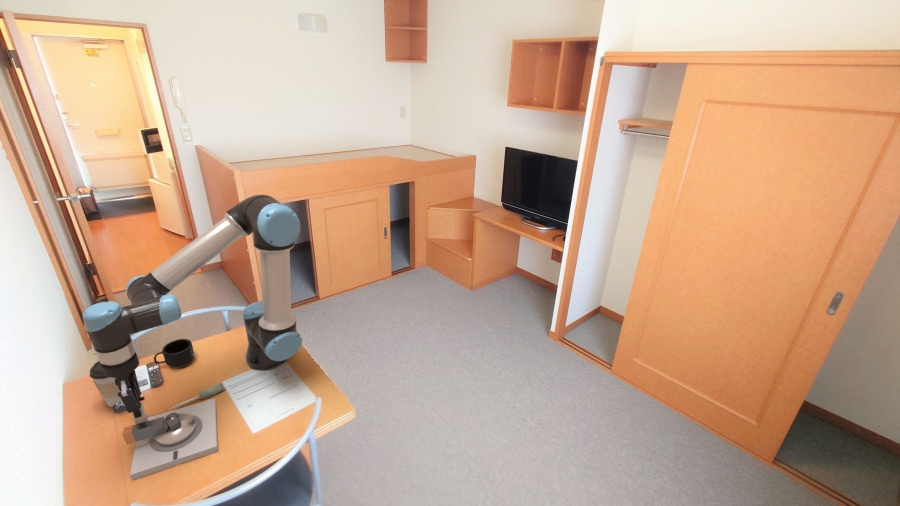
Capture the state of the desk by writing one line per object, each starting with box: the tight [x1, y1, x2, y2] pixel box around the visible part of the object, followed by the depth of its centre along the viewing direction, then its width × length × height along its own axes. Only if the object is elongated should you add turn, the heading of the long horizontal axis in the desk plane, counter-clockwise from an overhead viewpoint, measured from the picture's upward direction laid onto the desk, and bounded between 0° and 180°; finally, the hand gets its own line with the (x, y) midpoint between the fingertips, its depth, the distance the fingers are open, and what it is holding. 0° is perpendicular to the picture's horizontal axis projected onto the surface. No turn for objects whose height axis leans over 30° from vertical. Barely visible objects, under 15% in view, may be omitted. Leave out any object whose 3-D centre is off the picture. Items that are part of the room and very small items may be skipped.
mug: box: [153, 338, 195, 369], centre depth 145 cm, size 12×9×7 cm
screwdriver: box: [171, 382, 226, 410], centre depth 132 cm, size 15×3×3 cm
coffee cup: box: [89, 360, 122, 408], centre depth 127 cm, size 9×9×15 cm
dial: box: [122, 413, 196, 446], centre depth 115 cm, size 16×10×6 cm, turn 119°
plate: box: [129, 398, 219, 481], centre depth 118 cm, size 20×20×2 cm
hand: (141, 421), depth 115 cm, fingers closed
